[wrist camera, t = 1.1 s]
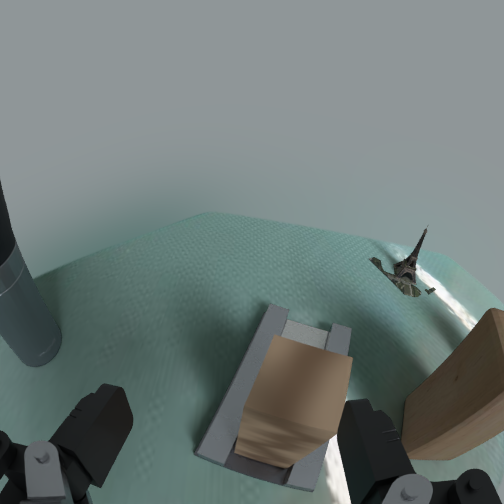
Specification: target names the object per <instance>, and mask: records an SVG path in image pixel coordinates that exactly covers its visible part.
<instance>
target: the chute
mask: <svg viewBox="0 0 504 504" xmlns="http://www.w3.org/2000/svg"><path fill="white" fill-rule="evenodd" d="M288 313H289V309H286V308H282V307H279V306H276V305H273V304H270V305H269V307H268V309H267V311H266V313H265V312H264V314H263V316H262V318H261V321H260V323H259V325H258V327H257V329H256V331H255V333H254V336H253V338H252V340H251V342H250V344H249V346H248V348H247V350H246V352H245V354H244V357H243V359H242V361H241V363H240V365H239V367H238V369H237V371H236V373H235V375H234V377H233V379H232V381H231V383H230V385H229V387H228V389H227V391H226V393H225V395H224V397H223V399H222V401H221V403H220V405H219V407H218V409H217V411H216V413H215V415H214V417H213V419H212V421H211V423H210V425H209V426H208V428H207V430H206V432H205V434H204V436H203V438H202V440H201V442H200V444H199V445H198V447H197V449H196V451H195V453H194V455H196V456H198V457H200V458H203V459H205V460H207V461H210V462H212V463H215V464H217V465H220V466H222V467H225V468H227V469H230V470H233V471H236V472H239V473H241V474H244V475H247V476H251V477H254V478H257V479H260V480H264V481H267V482H271V483H274V484H278V485H282V486H286V487H290V488H294V489H299V490H303V491H308V492H313V491H314V488H315V486H316V483H317V480H318V477H319V473H320V470H321V467H322V464H323V460H324V457H325V454H326V450H327V447H328V443H329V440H328V441H327V442H325V443H324V444H323V445H321V446H320V447H318V448H317V449H316V450H314V451H313V452H311V453H310V454H308V455H307V456H305V457H304V458H302V459H301V460H299V461H298V462H296V463H295V464H293V465H291V466H290V467H288V468H287V469H284V468H281V467H277V466H274V465H270V464H267V463H263V462H260V461H257V460H254V459H251V458H248V457H245V456H242V455H239V454H237V453H234V452H235V447H236V442H237V437H238V433H239V428H240V423H241V418H242V413H243V408H244V405H245V402H246V400H247V398H248V396H249V393H250V391H251V389H252V387H253V384H254V382H255V380H256V377H257V375H258V373H259V370H260V368H261V366H262V363H263V361H264V359H265V356H266V354H267V351H268V349H269V347H270V344H271V342H272V339H273V337H274V334H275V335H278V336H281V337H284V338H287V339H291V340H294V341H297V342H300V343H303V344H307V345H310V346H313V347H317V348H320V349H324V350H327V351H331V352H334V353H338V354H342V355H345V356H348V350H349V344H350V337H351V330H352V328H349V327H346V326H342V325H339V324H335V323H333V324H332V326H331V328H330V330H329V332H328V331H324V330H321V329H317V328H314V327H311V326H307V325H304V324H301V323H298V322H294V321H291V320H288V319H287V316H288Z"/></svg>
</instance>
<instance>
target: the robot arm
mask: <svg viewBox="0 0 504 504" xmlns="http://www.w3.org/2000/svg"><path fill="white" fill-rule="evenodd" d="M0 335H1V336H2V337H3V339H4V340H5V341H6V343H7V344H8V345H9V346H10V348H11V349H12V350H13V351H14V353H15V354H16V355H17V356H18V357H19V358H20V360H21V361H22V362H23V363H25V364H26V365H28V366H33V367H37V366H41V365H44V364H46V363H47V362H49V361H50V360H51V359H52V358H53V357H54V356H55V355H56V353H57V352H58V350H59V348H60V344H61V332H60V329H59V327H58V326H57V324H56V322H55V321H54V319H53V317H52V315H51V314H50V312H49V310H48V308H47V306H46V304H45V303H44V301H43V299H42V297H41V295H40V293H39V291H38V289H37V287H36V285H35V283H34V281H33V279H32V277H31V275H30V273H29V270H28V268H27V266H26V264H25V261H24V259H23V257H22V254H21V252H20V250H19V247H18V245H17V242H16V240H15V237H14V234H13V231H12V228H11V223H10V219H9V214H8V210H7V206H6V202H5V199H4V195H3V190H2V186H1V181H0ZM132 426H133V414H132V412H131V409H130V406H129V403H128V400H127V397H126V394H125V391H124V389H123V388H122V387H118V386H114V385H109V384H105V383H104V384H102V385H101V386H100V387H99V389H98V390H97V391H96V392H95V393H90V394H89V395H87V396H86V397H84V398H82V399H81V400H80V402H79V403H78V404H77V405H76V407H75V409H73V410H72V412H71V413H70V416H68V417H67V418H66V419H65V420H64V422H63V423H62V424H61V426H60V427H59V428H58V429H57V431H56V432H55V433H54V435H53V436H52V437H51V439H50V440H49V441H48V442H47V441H36V442H33V443H31V444H30V445H29V446H25V445H21V444H17V443H13V442H12V441H11V440H10V438H9V437H8V435H7V434H6V433H5V432H3V431H0V479H1V478H2V476H3V475H4V474H5V475H6V476H7V477H8V479H9V480H8V482H7V483H6V485H5V487H4V488H3V490H2V491H1V493H0V504H93V502H92V499H91V496H90V493H89V491H88V487H89V485H90V484H92V485H94V486H97V487H99V488H101V487H102V485H103V483H104V481H105V479H106V477H107V475H108V473H109V471H110V469H111V467H112V465H113V464H114V462H115V460H116V458H117V456H118V454H119V452H120V450H121V448H122V446H123V444H124V442H125V440H126V439H127V437H128V435H129V433H130V431H131V429H132ZM337 442H338V446H339V451H340V455H341V459H342V464H343V468H344V472H345V477H346V481H347V486H348V491H349V495H350V500H351V504H502V503H501V501H500V498H499V496H498V494H497V492H496V489H495V487H494V485H493V483H492V481H491V479H490V477H489V476H488V474H487V473H486V472H484V471H483V470H480V469H470V470H467V471H465V472H464V473H462V474H461V475H460V477H459V478H458V479H457V480H450V481H440V482H431V481H429V480H428V479H427V478H426V477H424V476H422V475H419V474H416V473H415V471H414V469H413V467H412V465H411V462H410V460H409V458H408V455H407V453H406V451H405V449H404V446H403V444H402V442H401V440H399V435H398V433H397V431H395V427H394V425H393V423H392V420H391V418H389V417H388V416H387V415H386V414H385V413H384V412H383V411H381V410H378V411H373V409H372V406H371V404H370V402H369V400H368V399H358V400H349V401H346V402H345V405H344V408H343V412H342V416H341V419H340V423H339V426H338V430H337Z"/></svg>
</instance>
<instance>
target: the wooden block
mask: <svg viewBox="0 0 504 504" xmlns="http://www.w3.org/2000/svg"><path fill="white" fill-rule="evenodd" d="M502 431H504V311H502V310H499V309H496V308H490V309H489V310H488V311H486V312H485V314H484V315H483V316H482V318H481V319H480V320H479V322H478V323H477V324H476V325H475V327H474V328H473V329H472V330H471V332H470V333H469V334H468V335H467V336H466V338H465V339H464V340H463V341H462V342H461V343H460V345H459V346H458V347H457V348H456V349H455V350H454V351H453V352H452V354H451V355H450V356H449V357H448V358H447V359H446V360H445V361H444V362H443V363H442V364H441V365H440V366H439V367H438V368H437V369H436V370H435V371H434V372H433V373H432V374H431V375H430V376H429V377H428V378H427V379H426V380H425V381H424V382H423V383H422V384H421V385H420V386H419V387H417V388H416V389H415V390H414V391H413V392H412V393H411V394H410V395H409V396H407V398H406V401H405V407H404V418H403V428H402V437H401V442H402V444H403V446H404V449H405V451H406V453H407V455H408V458H409V459H418V460H451V459H453V458H455V457H457V456H460V455H462V454H464V453H466V452H467V451H469V450H471V449H473V448H475V447H477V446H479V445H480V444H482V443H484V442H486V441H487V440H489V439H491V438H492V437H494V436H496V435H497V434H499V433H501V432H502Z"/></svg>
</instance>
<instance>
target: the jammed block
mask: <svg viewBox="0 0 504 504" xmlns="http://www.w3.org/2000/svg"><path fill="white" fill-rule="evenodd" d="M352 360H353V357H349V356H345V355H342V354H338V353H334V352H331V351H327V350H324V349H320V348H317V347H313V346H310V345H307V344H303V343H300V342H297V341H294V340H291V339H287V338H284V337H281V336H278V335H275V334H274V337H273V339H272V342H271V344H270V347H269V349H268V351H267V354H266V356H265V359H264V361H263V363H262V366H261V368H260V370H259V373H258V375H257V377H256V380H255V382H254V384H253V387H252V389H251V391H250V393H249V396H248V398H247V400H246V402H245V405H244V408H243V413H242V418H241V423H240V428H239V433H238V437H237V442H236V447H235V452H234V453H237V454H239V455H242V456H245V457H248V458H251V459H254V460H257V461H260V462H263V463H267V464H270V465H274V466H277V467H281V468H284V469H287V468H288V467H290V466H291V465H293V464H295V463H296V462H298V461H299V460H301V459H302V458H304V457H305V456H307V455H308V454H310V453H311V452H313V451H314V450H316V449H317V448H318V447H320V446H321V445H323V444H324V443H325V442H327V441H328V440H329V439H331V438H332V437H333V436H335V435H336V434H337V430H338V426H339V423H340V419H341V416H342V412H343V408H344V404H345V399H346V394H347V389H348V384H349V378H350V372H351V366H352Z"/></svg>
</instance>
